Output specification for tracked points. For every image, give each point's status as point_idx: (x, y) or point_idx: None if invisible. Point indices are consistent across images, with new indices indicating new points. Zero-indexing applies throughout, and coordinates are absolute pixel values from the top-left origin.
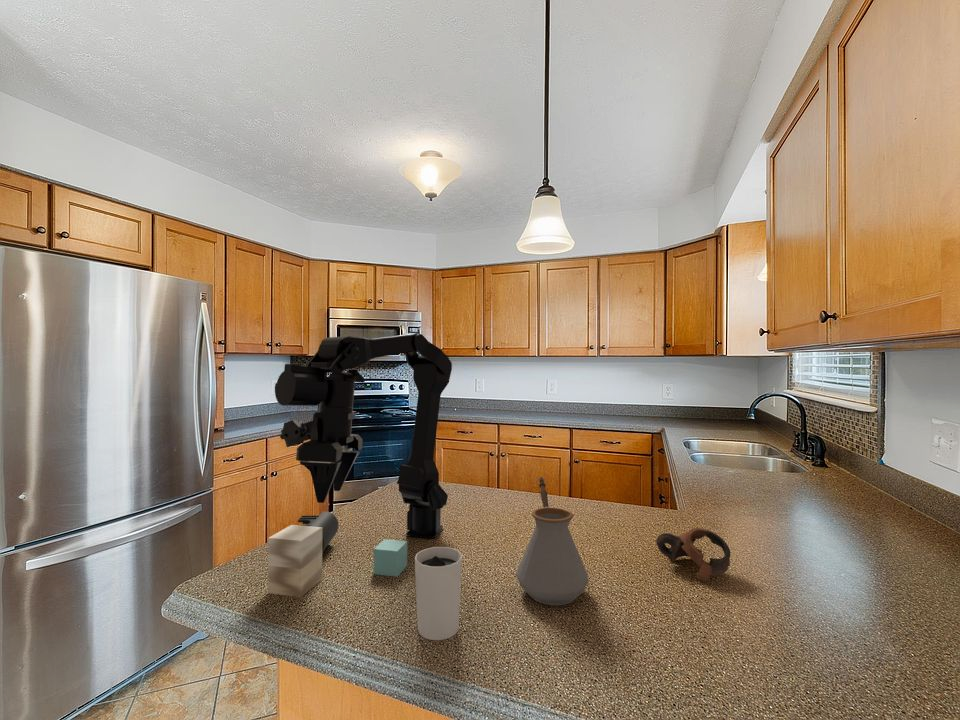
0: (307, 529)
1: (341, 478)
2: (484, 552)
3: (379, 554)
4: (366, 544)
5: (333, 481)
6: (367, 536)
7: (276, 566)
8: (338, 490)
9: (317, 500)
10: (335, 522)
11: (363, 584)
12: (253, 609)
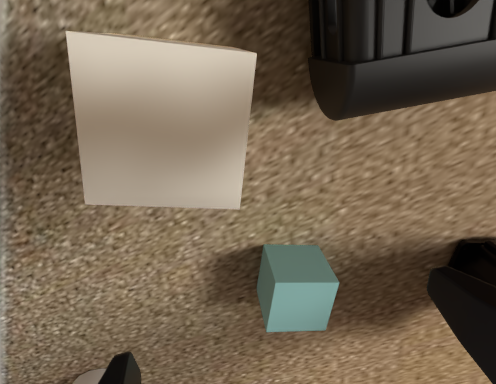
0: (206, 164)
1: (487, 359)
2: (361, 381)
3: (270, 287)
4: (426, 165)
5: (480, 303)
6: (481, 146)
7: None
8: (427, 289)
9: (109, 367)
10: (485, 92)
11: (214, 243)
12: (34, 46)
